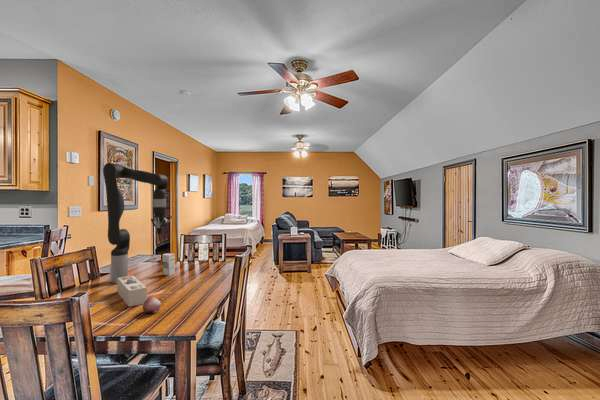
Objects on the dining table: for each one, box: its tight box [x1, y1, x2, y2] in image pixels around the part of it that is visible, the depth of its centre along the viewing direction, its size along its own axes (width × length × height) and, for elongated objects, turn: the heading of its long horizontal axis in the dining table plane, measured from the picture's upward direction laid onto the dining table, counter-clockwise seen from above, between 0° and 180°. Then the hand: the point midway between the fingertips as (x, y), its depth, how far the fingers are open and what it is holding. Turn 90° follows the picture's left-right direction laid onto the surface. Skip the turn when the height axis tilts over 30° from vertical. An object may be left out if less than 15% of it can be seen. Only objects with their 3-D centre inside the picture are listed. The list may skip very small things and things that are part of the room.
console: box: [116, 275, 148, 307], centre depth 162 cm, size 30×8×8 cm, turn 41°
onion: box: [142, 296, 162, 314], centre depth 141 cm, size 8×8×7 cm
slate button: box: [127, 279, 135, 284], centre depth 162 cm, size 4×4×2 cm
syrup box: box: [162, 252, 176, 277], centre depth 209 cm, size 6×6×14 cm
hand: (159, 233), depth 187 cm, fingers closed
